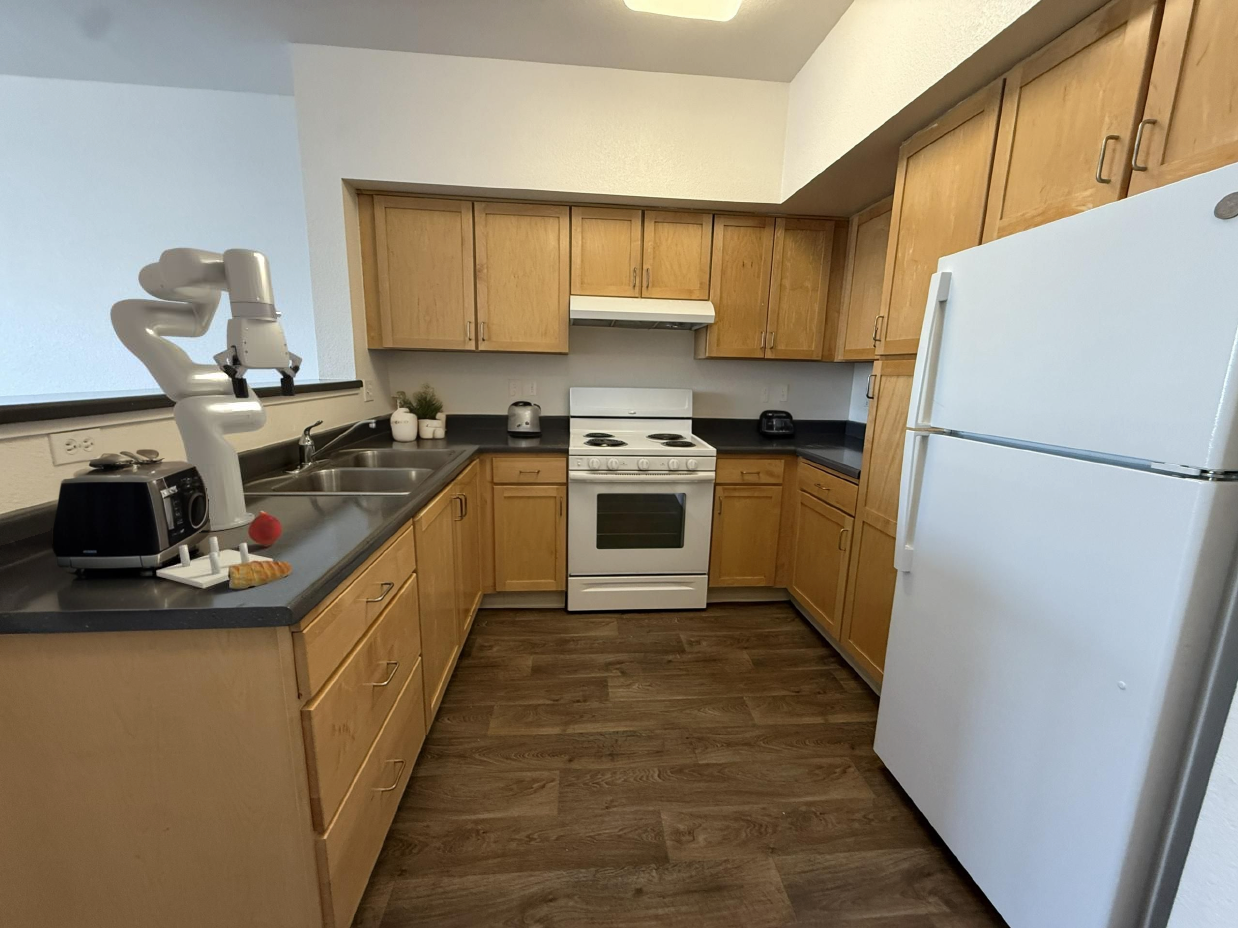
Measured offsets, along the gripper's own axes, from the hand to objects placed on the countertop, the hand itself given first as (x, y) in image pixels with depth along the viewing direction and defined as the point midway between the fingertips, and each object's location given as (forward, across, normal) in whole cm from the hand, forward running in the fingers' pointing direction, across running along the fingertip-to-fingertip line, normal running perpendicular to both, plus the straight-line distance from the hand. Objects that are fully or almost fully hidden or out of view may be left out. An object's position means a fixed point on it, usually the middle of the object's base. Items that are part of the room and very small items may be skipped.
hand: (266, 397), depth 104 cm
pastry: (+33, +17, +16) cm, 40 cm away
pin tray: (+32, +16, +4) cm, 36 cm away
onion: (+32, +4, 0) cm, 33 cm away
